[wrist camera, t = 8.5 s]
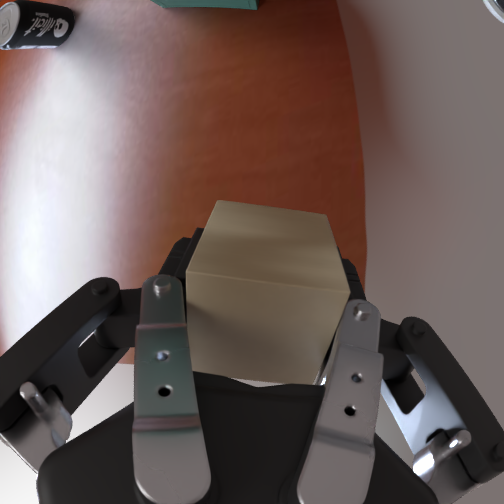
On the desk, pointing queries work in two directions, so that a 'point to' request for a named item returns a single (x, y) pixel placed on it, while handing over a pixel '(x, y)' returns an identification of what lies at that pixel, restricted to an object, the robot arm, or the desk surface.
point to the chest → (209, 3)
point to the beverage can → (34, 25)
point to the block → (264, 294)
